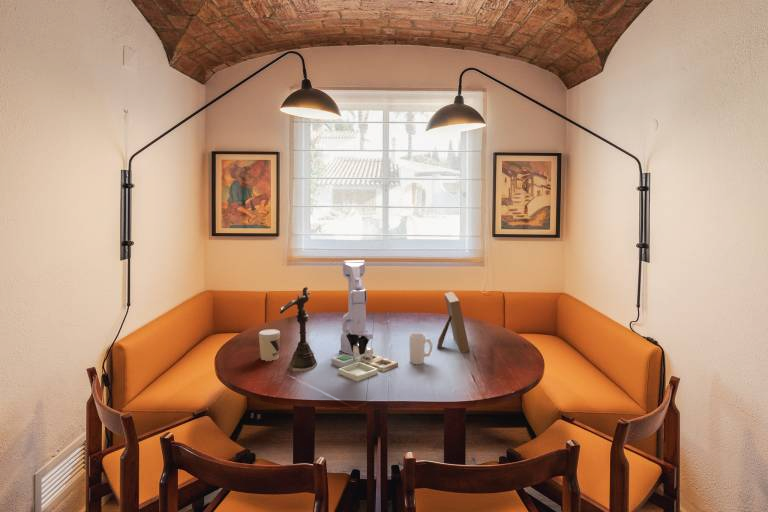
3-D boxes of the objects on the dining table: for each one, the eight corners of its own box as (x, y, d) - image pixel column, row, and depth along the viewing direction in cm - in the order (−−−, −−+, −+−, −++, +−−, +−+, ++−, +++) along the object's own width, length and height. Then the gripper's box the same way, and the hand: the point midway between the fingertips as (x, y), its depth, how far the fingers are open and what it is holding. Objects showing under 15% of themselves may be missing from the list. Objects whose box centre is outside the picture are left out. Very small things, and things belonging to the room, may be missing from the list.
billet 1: (351, 359, 165) (351, 345, 165) (358, 356, 168) (358, 342, 167) (357, 362, 162) (357, 347, 162) (365, 359, 165) (365, 345, 165)
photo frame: (461, 338, 215) (463, 291, 212) (469, 352, 193) (471, 300, 191) (433, 338, 215) (434, 291, 213) (438, 352, 194) (439, 300, 191)
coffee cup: (274, 362, 179) (274, 335, 177) (255, 360, 180) (254, 334, 179) (284, 355, 188) (283, 329, 186) (265, 353, 190) (264, 328, 188)
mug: (408, 364, 178) (408, 337, 177) (409, 358, 185) (410, 332, 183) (431, 365, 177) (432, 338, 175) (432, 360, 183) (432, 333, 182)
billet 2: (361, 361, 180) (361, 348, 180) (368, 359, 183) (368, 346, 183) (368, 364, 178) (368, 350, 177) (374, 361, 181) (374, 348, 180)
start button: (337, 363, 176) (337, 357, 176) (344, 360, 179) (344, 355, 179) (343, 366, 173) (343, 360, 173) (351, 363, 176) (351, 357, 176)
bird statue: (271, 372, 168) (270, 287, 164) (283, 360, 181) (282, 282, 177) (310, 374, 166) (310, 289, 162) (320, 363, 178) (319, 283, 175)
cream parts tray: (353, 361, 180) (353, 357, 180) (368, 356, 187) (368, 352, 187) (383, 373, 168) (383, 368, 168) (398, 367, 174) (398, 362, 174)
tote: (338, 374, 166) (338, 368, 166) (358, 367, 174) (358, 361, 174) (357, 382, 158) (357, 376, 158) (377, 374, 166) (377, 368, 166)
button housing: (331, 365, 176) (331, 358, 176) (345, 360, 182) (345, 353, 181) (343, 369, 171) (343, 362, 171) (356, 365, 176) (356, 358, 176)
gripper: (338, 318, 166) (338, 350, 167) (363, 325, 156) (363, 359, 157) (351, 315, 171) (351, 346, 172) (376, 321, 161) (376, 355, 162)
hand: (358, 352), depth 165 cm, fingers closed on billet 1, 4 cm apart
